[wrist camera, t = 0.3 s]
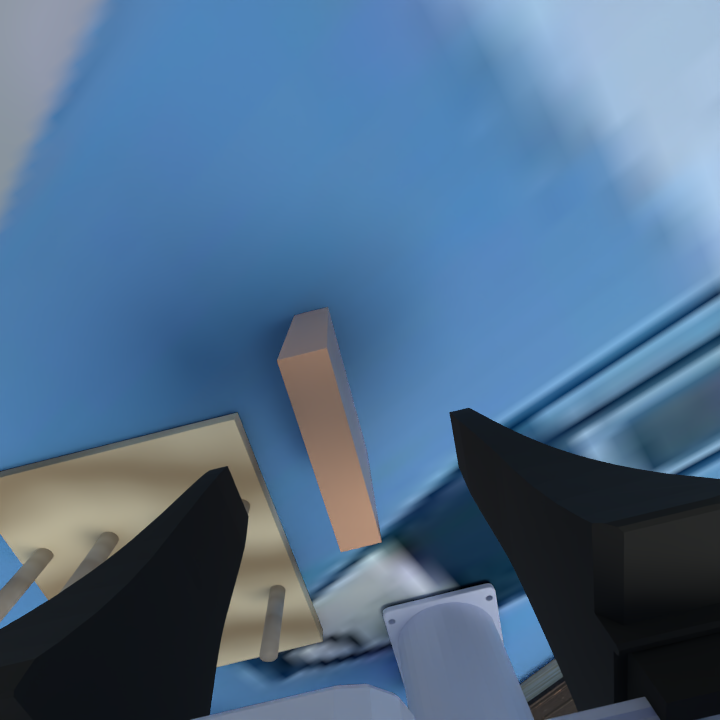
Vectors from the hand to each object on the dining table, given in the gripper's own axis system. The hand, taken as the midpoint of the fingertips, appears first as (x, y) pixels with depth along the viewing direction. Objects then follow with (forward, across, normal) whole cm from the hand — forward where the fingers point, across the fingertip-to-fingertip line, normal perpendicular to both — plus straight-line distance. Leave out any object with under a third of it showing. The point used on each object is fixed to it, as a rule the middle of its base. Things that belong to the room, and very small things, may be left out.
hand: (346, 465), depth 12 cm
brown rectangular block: (+10, +1, +1) cm, 10 cm away
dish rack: (+9, +14, +10) cm, 20 cm away
